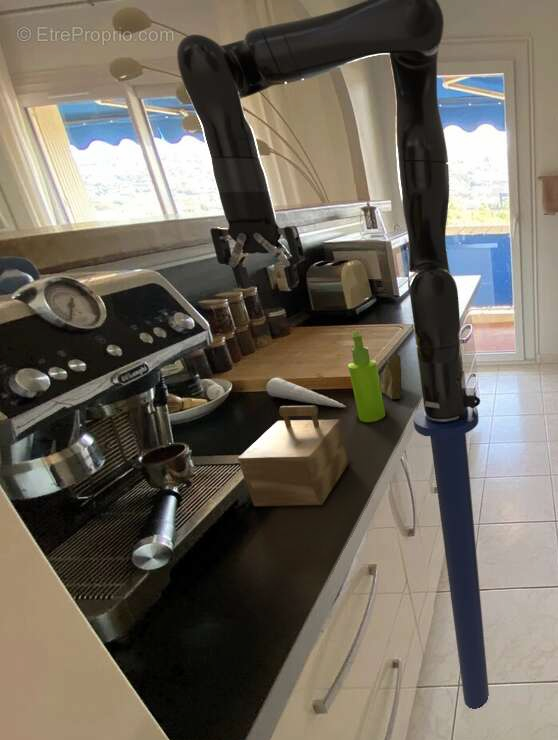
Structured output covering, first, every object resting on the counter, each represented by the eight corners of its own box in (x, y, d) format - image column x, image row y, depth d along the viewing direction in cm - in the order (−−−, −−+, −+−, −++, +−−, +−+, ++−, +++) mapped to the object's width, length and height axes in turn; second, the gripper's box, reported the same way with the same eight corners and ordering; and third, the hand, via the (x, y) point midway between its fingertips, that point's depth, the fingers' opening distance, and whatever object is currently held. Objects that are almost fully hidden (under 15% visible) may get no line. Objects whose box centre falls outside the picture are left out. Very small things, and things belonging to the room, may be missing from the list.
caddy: (288, 465, 86) (277, 425, 82) (348, 464, 86) (339, 424, 83) (253, 506, 75) (238, 462, 71) (322, 504, 75) (310, 461, 71)
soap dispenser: (384, 407, 109) (370, 327, 100) (386, 419, 103) (371, 336, 95) (358, 411, 107) (342, 330, 99) (359, 424, 101) (342, 339, 93)
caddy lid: (279, 424, 83) (272, 401, 81) (340, 423, 83) (335, 399, 81) (238, 462, 71) (229, 436, 69) (310, 460, 71) (303, 434, 69)
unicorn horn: (334, 415, 105) (330, 396, 103) (267, 398, 115) (262, 381, 113) (349, 407, 109) (345, 389, 107) (283, 391, 119) (279, 374, 117)
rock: (409, 392, 111) (419, 372, 119) (383, 368, 107) (395, 350, 116) (380, 414, 115) (391, 393, 123) (354, 391, 111) (368, 372, 120)
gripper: (297, 189, 78) (317, 283, 85) (215, 190, 78) (242, 284, 85) (275, 189, 71) (299, 291, 78) (185, 190, 71) (217, 292, 78)
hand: (269, 287), depth 81 cm, fingers open, 8 cm apart
